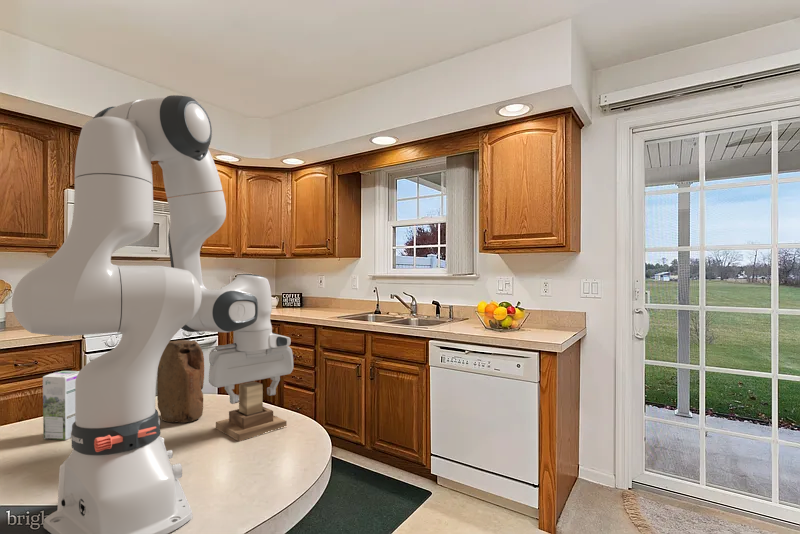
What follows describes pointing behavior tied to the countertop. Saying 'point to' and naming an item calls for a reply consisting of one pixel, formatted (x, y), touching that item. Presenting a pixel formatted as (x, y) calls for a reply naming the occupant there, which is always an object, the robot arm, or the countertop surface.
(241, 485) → the countertop surface
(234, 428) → the brown wooden socket base
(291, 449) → the countertop surface
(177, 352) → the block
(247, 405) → the peg
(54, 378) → the syrup box
